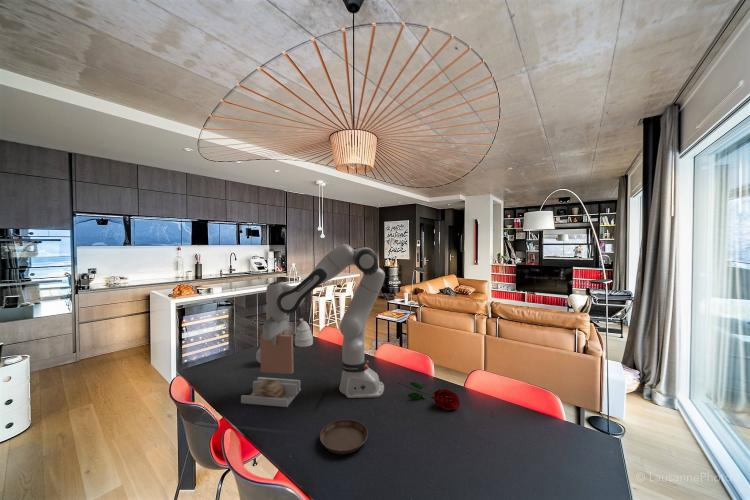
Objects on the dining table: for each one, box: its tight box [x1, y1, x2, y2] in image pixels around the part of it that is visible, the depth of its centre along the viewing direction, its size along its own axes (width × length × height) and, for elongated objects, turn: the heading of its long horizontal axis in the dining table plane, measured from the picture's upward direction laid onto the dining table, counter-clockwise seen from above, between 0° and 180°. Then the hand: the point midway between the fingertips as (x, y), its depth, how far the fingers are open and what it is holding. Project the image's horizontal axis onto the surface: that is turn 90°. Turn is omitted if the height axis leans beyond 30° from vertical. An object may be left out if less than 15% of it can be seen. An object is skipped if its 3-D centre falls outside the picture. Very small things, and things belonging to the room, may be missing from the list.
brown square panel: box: [259, 334, 295, 375], centre depth 139 cm, size 16×2×18 cm, turn 82°
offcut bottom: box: [255, 391, 285, 398], centre depth 133 cm, size 12×6×2 cm, turn 82°
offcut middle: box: [256, 386, 283, 398], centre depth 133 cm, size 10×6×2 cm, turn 82°
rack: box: [240, 376, 302, 408], centre depth 136 cm, size 22×16×6 cm
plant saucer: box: [319, 419, 369, 455], centre depth 106 cm, size 18×18×3 cm
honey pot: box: [294, 318, 314, 348], centre depth 209 cm, size 13×13×18 cm
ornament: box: [255, 348, 261, 364], centre depth 175 cm, size 10×10×12 cm
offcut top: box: [258, 380, 281, 392], centre depth 133 cm, size 8×6×2 cm
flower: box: [398, 380, 461, 412], centre depth 133 cm, size 9×9×30 cm
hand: (276, 343), depth 139 cm, fingers closed on brown square panel, 2 cm apart
